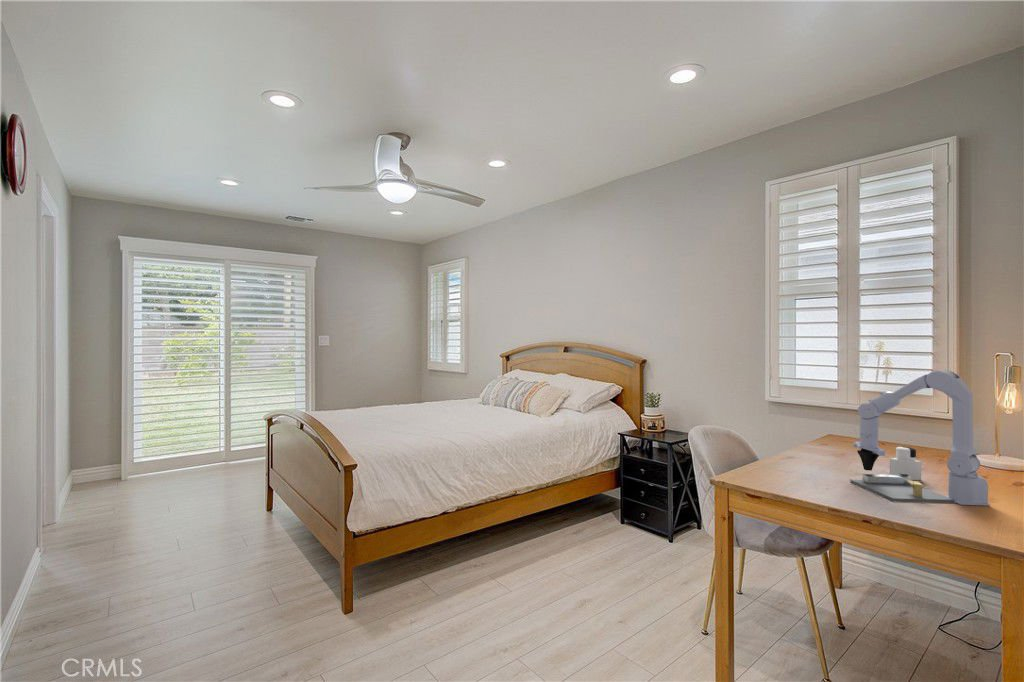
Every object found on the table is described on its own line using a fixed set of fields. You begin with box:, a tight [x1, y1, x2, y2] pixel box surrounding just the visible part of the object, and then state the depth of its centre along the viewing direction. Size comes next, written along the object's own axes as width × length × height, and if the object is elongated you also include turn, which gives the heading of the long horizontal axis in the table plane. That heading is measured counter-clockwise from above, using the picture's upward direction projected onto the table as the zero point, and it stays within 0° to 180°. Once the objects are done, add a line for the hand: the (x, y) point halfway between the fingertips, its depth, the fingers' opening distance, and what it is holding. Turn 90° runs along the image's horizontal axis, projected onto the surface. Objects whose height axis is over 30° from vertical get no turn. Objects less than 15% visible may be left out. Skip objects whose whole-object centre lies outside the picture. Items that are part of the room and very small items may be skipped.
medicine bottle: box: [889, 445, 923, 481], centre depth 189 cm, size 7×7×12 cm
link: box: [861, 473, 911, 484], centre depth 178 cm, size 16×4×2 cm, turn 89°
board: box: [849, 473, 955, 504], centre depth 171 cm, size 20×21×5 cm
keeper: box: [907, 480, 924, 498], centre depth 166 cm, size 6×3×4 cm, turn 154°
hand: (867, 469), depth 185 cm, fingers closed
